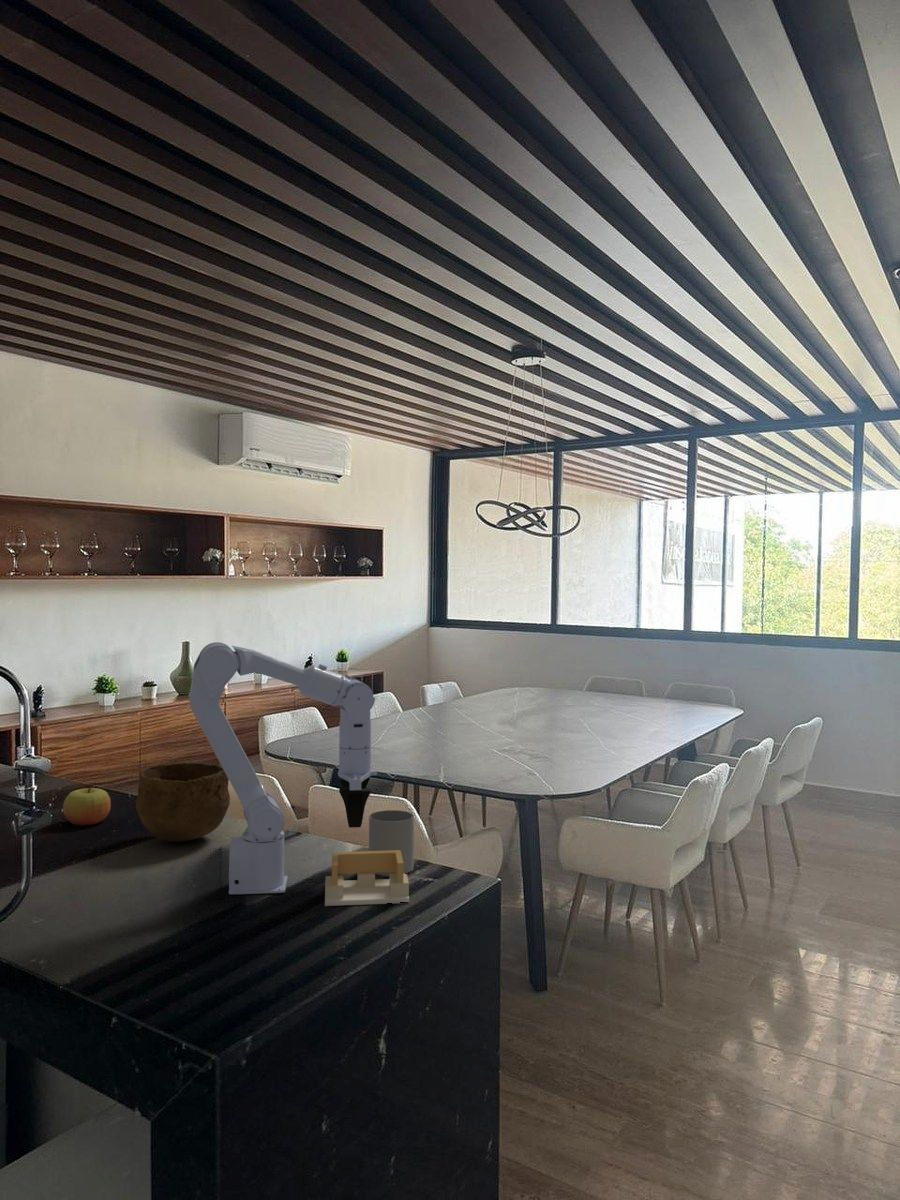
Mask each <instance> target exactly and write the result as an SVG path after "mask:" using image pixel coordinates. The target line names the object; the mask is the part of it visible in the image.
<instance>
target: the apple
mask: <svg viewBox="0 0 900 1200" xmlns="http://www.w3.org/2000/svg"><path fill="white" fill-rule="evenodd" d="M62 806H63V807H62V810H63V811H62V812H63V815H64V816H65V818H66V819H67V821H68V822H70V823H71V824H73V825H76V826H91V825H92V826H93V825H96V824H98V823H99V824H100V823H101V822H102V821H103V820H104V819H106V818H107V816H108V815H109V814H110V811H111V806H112V804H111V797H110V796H109V793H108V792H107V791H106V790H104V789H101V788H97V787H88V788H79V789H76V790H75V789H74V790H73V791H71V792H70V793H69V794H68V795H66V797H65V799H64V801H63V805H62Z"/></svg>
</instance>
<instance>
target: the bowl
mask: <svg viewBox="0 0 900 1200" xmlns="http://www.w3.org/2000/svg"><path fill="white" fill-rule="evenodd" d="M138 778H139V779H138V787H137V788H138V792H137V797H136V801H135V809H136V811H137V814H138V816H139V819H140V820H141V823H142V826H143V827H144V828H145V829H146V830H147V831H148V832H150V834H152V835H153V836H154V837H155V838H158V839H162V840H163V841H166V842H179V843H180V842H186V841H193V840H197V839H200V838H202V837H205V836H207V835H209V834H210V833H212V832H213V831H215V830H216V829H217V828H218V827H219V826H220V825H221V824H222V822H223V820H224V819H225V816H226V814H227V811H228V809H229V806H230V804H231V795H230V791H229V782H230V781H229V779H228V777H227V775H226V773H225V771H224V769H223V768H222V766H221V765H218V764H216V763H213V764H211V763H204V762H203V763H201V762H191V761H190V762H176V763H164V764H155V765H151V766H147V767H144V768H142V769H141V770H140V772H139V776H138Z"/></svg>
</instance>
